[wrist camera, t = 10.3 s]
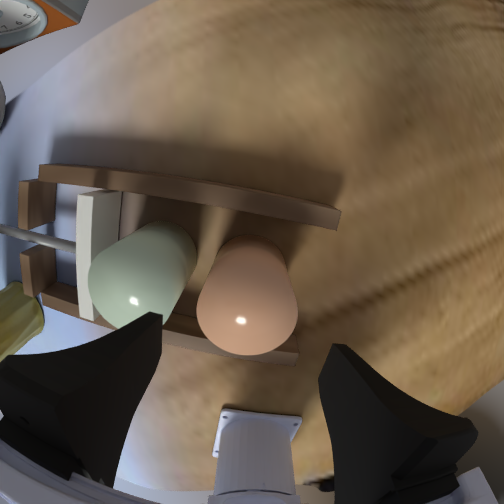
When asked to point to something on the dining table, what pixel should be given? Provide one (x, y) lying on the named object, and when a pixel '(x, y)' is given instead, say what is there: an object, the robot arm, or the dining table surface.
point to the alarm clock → (35, 19)
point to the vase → (18, 319)
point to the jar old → (142, 273)
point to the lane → (168, 186)
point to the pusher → (84, 238)
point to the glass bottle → (2, 103)
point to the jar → (248, 298)
